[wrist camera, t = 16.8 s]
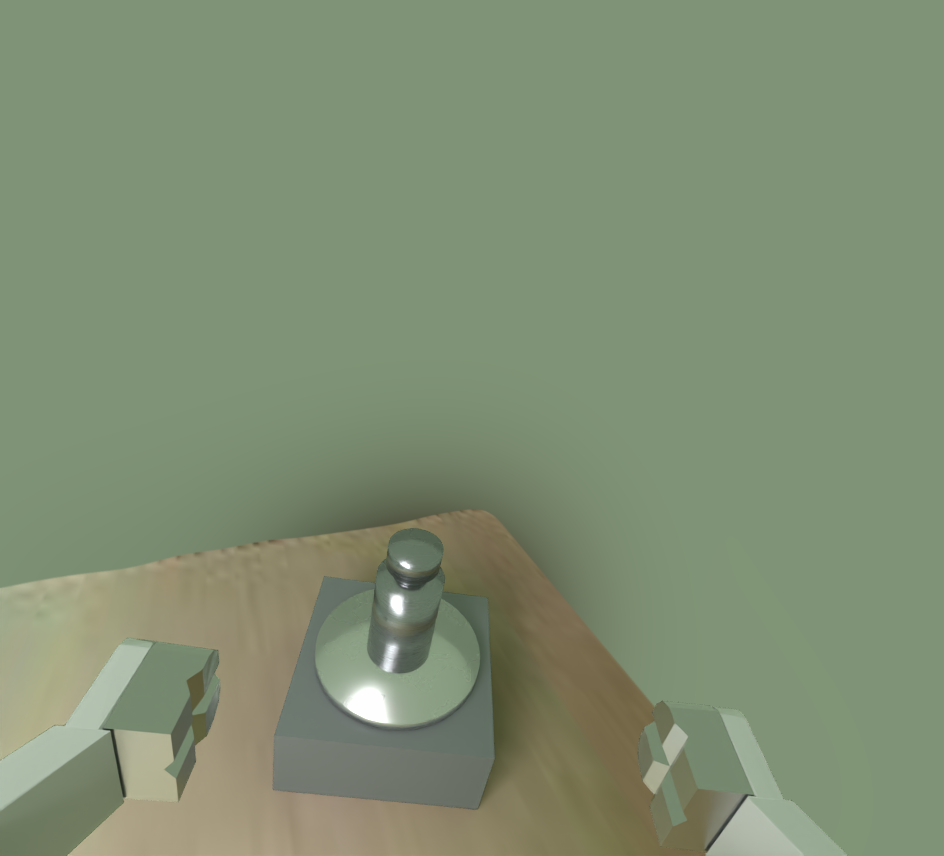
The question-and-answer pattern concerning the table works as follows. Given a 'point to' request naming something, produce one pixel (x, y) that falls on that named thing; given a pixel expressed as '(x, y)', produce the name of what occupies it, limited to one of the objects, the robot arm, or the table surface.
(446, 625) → the scale pan
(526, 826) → the table surface
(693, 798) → the robot arm
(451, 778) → the scale base
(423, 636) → the calibration weight
